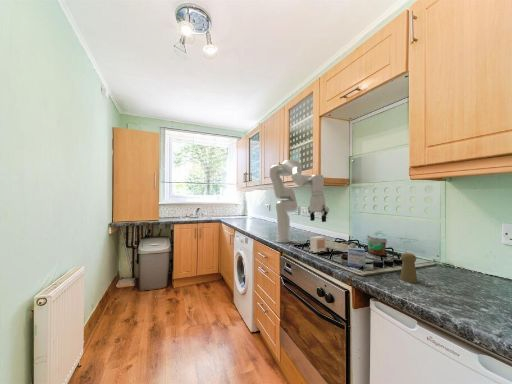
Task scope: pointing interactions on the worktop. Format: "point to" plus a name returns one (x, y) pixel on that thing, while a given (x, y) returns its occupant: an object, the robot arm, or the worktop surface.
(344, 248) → the price rail
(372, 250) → the food container
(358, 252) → the medicine box
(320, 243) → the cream carton
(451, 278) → the worktop surface
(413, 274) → the cork
